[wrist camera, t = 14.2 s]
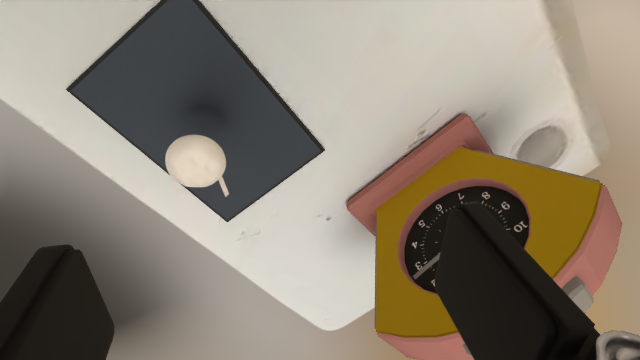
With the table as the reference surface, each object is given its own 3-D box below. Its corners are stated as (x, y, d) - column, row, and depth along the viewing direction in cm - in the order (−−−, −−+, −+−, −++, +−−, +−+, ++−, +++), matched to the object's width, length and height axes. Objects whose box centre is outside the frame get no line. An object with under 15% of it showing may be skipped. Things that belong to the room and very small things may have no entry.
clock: (483, 94, 40) (678, 211, 22) (515, 149, 45) (699, 285, 26) (326, 214, 45) (380, 392, 27) (369, 254, 50) (440, 428, 31)
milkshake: (217, 156, 38) (209, 214, 30) (170, 125, 36) (147, 179, 27) (245, 125, 37) (245, 176, 29) (199, 90, 34) (184, 135, 26)
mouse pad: (67, 88, 33) (64, 90, 33) (182, -19, 30) (181, -19, 30) (227, 220, 43) (227, 223, 43) (324, 149, 40) (325, 151, 40)
